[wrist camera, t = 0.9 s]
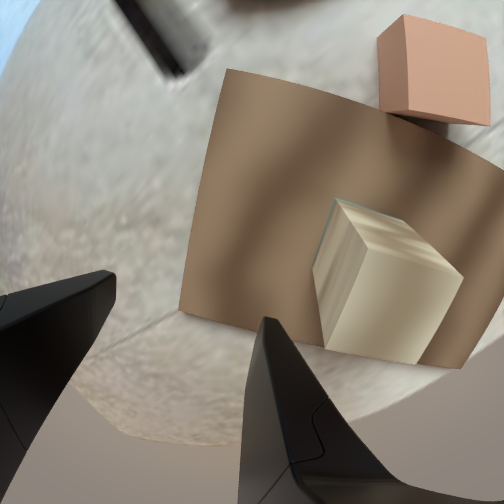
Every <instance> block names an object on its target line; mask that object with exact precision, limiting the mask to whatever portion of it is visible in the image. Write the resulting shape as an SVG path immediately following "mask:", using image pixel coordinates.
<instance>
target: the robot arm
mask: <svg viewBox="0 0 504 504" xmlns="http://www.w3.org/2000/svg"><path fill="white" fill-rule="evenodd" d="M115 300H116V275H115V273H113V272H110V271H107V270H100V271H96V272H92V273H88V274H84V275H80V276H76V277H72V278H68V279H64V280H60V281H56V282H52V283H48V284H44V285H41V286H37V287H33V288H29V289H25V290H21V291H18V292H14V293H10V294H8V296H7V295H2V296H0V503H1V501H2V499H3V497H4V495H5V493H6V491H7V489H8V487H9V485H10V483H11V481H12V479H13V477H14V475H15V473H16V471H17V470H18V468H19V466H20V464H21V462H22V460H23V458H24V456H25V454H26V451H27V450H28V449H29V447H30V445H31V443H32V441H33V440H34V438H35V436H36V435H37V433H38V431H39V429H40V427H41V426H42V424H43V422H44V421H45V419H46V417H47V416H48V414H49V412H50V410H51V409H52V407H53V405H54V404H55V402H56V401H57V399H58V397H59V396H60V394H61V393H62V391H63V389H64V388H65V386H66V385H67V383H68V382H69V380H70V378H71V377H72V375H73V374H74V372H75V371H76V369H77V368H78V366H79V365H80V363H81V361H82V360H83V358H84V357H85V355H86V354H87V352H88V351H89V349H90V348H91V346H92V345H93V343H94V341H95V340H96V338H97V336H98V334H99V332H100V330H101V328H102V326H103V324H104V323H105V321H106V319H107V317H108V315H109V313H110V311H111V309H112V308H113V306H114V303H115ZM239 474H240V475H239V489H238V504H504V500H503V501H494V502H492V501H477V500H471V499H465V498H460V497H456V496H451V495H446V494H442V493H437V492H433V491H429V490H425V489H421V488H418V487H414V486H410V485H408V484H406V483H403V482H401V481H400V480H398V479H397V478H396V477H394V476H393V475H392V474H391V473H390V472H389V471H388V470H387V469H386V468H385V467H384V466H383V465H382V464H381V462H380V461H379V460H378V459H377V458H376V457H375V455H374V454H373V453H372V452H371V451H370V450H369V449H368V447H367V446H366V445H365V444H364V443H363V442H362V441H361V439H360V438H359V437H358V436H357V435H356V433H355V432H354V431H353V430H352V428H351V427H350V426H349V425H348V423H347V422H346V421H345V419H344V418H343V417H342V415H341V414H340V412H339V411H338V410H337V408H336V407H335V405H334V404H333V402H332V401H331V399H330V398H329V396H328V395H327V393H326V392H325V390H324V389H323V387H322V386H321V384H320V383H319V381H318V380H317V378H316V377H315V375H314V374H313V372H312V371H311V369H310V368H309V366H308V364H307V363H306V361H305V360H304V358H303V357H302V355H301V354H300V352H299V351H298V349H297V348H296V346H295V345H294V343H293V342H292V340H291V338H290V337H289V335H288V334H287V332H286V331H285V329H284V328H283V326H282V325H281V323H280V322H279V320H278V319H276V318H272V317H267V316H264V317H263V318H262V321H261V324H260V327H259V330H258V333H257V337H256V340H255V344H254V348H253V353H252V358H251V363H250V368H249V372H248V377H247V382H246V388H245V397H244V412H243V427H242V443H241V458H240V473H239Z"/></svg>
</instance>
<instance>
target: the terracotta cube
mask: <svg viewBox="0 0 504 504" xmlns="http://www.w3.org/2000/svg"><path fill="white" fill-rule="evenodd" d="M377 46H378V65H379V110H380V111H383V112H385V113H388V114H393V115H400V116H408V117H414V118H421V119H427V120H433V121H438V122H444V123H450V124H467V125H481V126H490V78H489V64H488V54H487V45H486V38H484V37H481V36H478V35H476V34H473V33H470V32H467V31H464V30H461V29H458V28H455V27H451V26H448V25H445V24H441V23H438V22H434V21H430V20H426V19H422V18H418V17H414V16H410V15H405V14H403V15H402V16H401V17H399V18H398V19H397V20H396V21H395V22H394V23H393V24H392V25H390V26H389V27H388V28H387V29H386V30H385V31H384V32H383V33H382V34H380V35H379V36H378V37H377Z"/></svg>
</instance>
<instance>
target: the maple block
mask: <svg viewBox="0 0 504 504" xmlns="http://www.w3.org/2000/svg"><path fill="white" fill-rule="evenodd" d="M312 270H313V276H314V282H315V288H316V294H317V300H318V306H319V313H320V319H321V326H322V332H323V339H324V346H325V349H327V350H332V351H337V352H342V353H347V354H352V355H358V356H363V357H369V358H375V359H380V360H386V361H392V362H399V363H405V364H412V365H416V363H417V362H418V360H419V359H420V357H421V355H422V354H423V352H424V351H425V349H426V347H427V346H428V344H429V342H430V341H431V339H432V337H433V336H434V334H435V332H436V330H437V329H438V327H439V325H440V323H441V322H442V320H443V318H444V316H445V314H446V312H447V310H448V309H449V307H450V305H451V303H452V301H453V299H454V297H455V295H456V293H457V291H458V289H459V287H460V285H461V283H462V281H463V279H464V277H463V276H462V275H461V274H460V273H459V272H458V271H457V270H456V269H455V268H454V267H453V266H452V265H451V264H450V263H449V262H448V261H447V260H445V259H444V258H443V257H442V256H441V255H440V254H439V253H438V252H437V251H436V250H435V249H434V248H433V247H432V246H431V245H430V244H429V243H428V242H426V241H425V240H424V239H423V238H422V237H421V236H420V235H419V234H418V233H417V232H416V231H414V230H413V229H412V228H411V227H410V226H409V225H408V224H407V223H405V222H404V221H403V220H402V219H399V218H396V217H393V216H390V215H387V214H384V213H381V212H378V211H375V210H372V209H369V208H366V207H363V206H360V205H356V204H353V203H350V202H347V201H343V200H340V199H337V198H334V202H333V205H332V208H331V211H330V214H329V217H328V220H327V223H326V226H325V230H324V233H323V236H322V239H321V242H320V245H319V248H318V251H317V253H316V256H315V259H314V262H313V265H312Z"/></svg>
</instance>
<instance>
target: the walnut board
mask: <svg viewBox="0 0 504 504" xmlns="http://www.w3.org/2000/svg"><path fill="white" fill-rule="evenodd" d="M334 198H337V199H340V200H343V201H347V202H350V203H353V204H356V205H360V206H363V207H366V208H369V209H372V210H375V211H378V212H381V213H384V214H387V215H390V216H393V217H396V218H399V219H402V220H403V221H404V222H405V223H407V224H408V225H409V226H410V227H411V228H412V229H413V230H414V231H416V232H417V233H418V234H419V235H420V236H421V237H422V238H423V239H424V240H425V241H426V242H428V243H429V244H430V245H431V246H432V247H433V248H434V249H435V250H436V251H437V252H438V253H439V254H440V255H441V256H442V257H443V258H444V259H445V260H447V261H448V262H449V263H450V264H451V265H452V266H453V267H454V268H455V269H456V270H457V271H458V272H459V273H460V274H461V275H462V276H463V277H464V279H463V281H462V283H461V285H460V287H459V289H458V291H457V293H456V295H455V297H454V299H453V301H452V303H451V305H450V307H449V309H448V310H447V312H446V314H445V316H444V318H443V320H442V322H441V323H440V325H439V327H438V329H437V330H436V332H435V334H434V336H433V337H432V339H431V341H430V342H429V344H428V346H427V347H426V349H425V351H424V352H423V354H422V355H421V357H420V359H419V360H418V362H417V364H424V365H431V366H439V367H446V368H454V369H461V368H462V366H463V365H464V363H465V362H466V360H467V359H468V357H469V356H470V354H471V353H472V351H473V350H474V348H475V347H476V345H477V343H478V342H479V340H480V338H481V337H482V335H483V333H484V332H485V330H486V328H487V327H488V325H489V323H490V321H491V320H492V318H493V316H494V314H495V312H496V311H497V309H498V307H499V305H500V303H501V301H502V299H503V297H504V170H502V169H501V168H499V167H497V166H495V165H494V164H492V163H490V162H489V161H487V160H485V159H483V158H482V157H480V156H478V155H476V154H474V153H472V152H471V151H469V150H467V149H465V148H463V147H461V146H459V145H457V144H455V143H453V142H451V141H449V140H447V139H445V138H443V137H441V136H439V135H437V134H435V133H432V132H430V131H428V130H426V129H424V128H421V127H419V126H417V125H415V124H412V123H410V122H408V121H405V120H403V119H400V118H398V117H396V116H393V115H391V114H388V113H385V112H383V111H380V110H378V109H375V108H372V107H370V106H367V105H364V104H361V103H358V102H355V101H352V100H349V99H346V98H343V97H340V96H337V95H334V94H331V93H328V92H324V91H321V90H318V89H314V88H311V87H307V86H303V85H300V84H296V83H292V82H288V81H284V80H280V79H276V78H272V77H267V76H263V75H258V74H253V73H248V72H243V71H238V70H233V69H227V70H226V73H225V77H224V81H223V85H222V89H221V93H220V97H219V101H218V105H217V109H216V113H215V118H214V122H213V126H212V130H211V135H210V139H209V144H208V148H207V153H206V157H205V162H204V167H203V172H202V176H201V181H200V186H199V191H198V196H197V201H196V207H195V212H194V217H193V223H192V228H191V234H190V239H189V245H188V251H187V257H186V263H185V269H184V275H183V282H182V288H181V295H180V301H179V308H178V310H179V311H182V312H186V313H189V314H193V315H196V316H200V317H203V318H207V319H210V320H214V321H218V322H221V323H225V324H229V325H233V326H237V327H240V328H244V329H248V330H252V331H256V332H258V330H259V327H260V324H261V321H262V318H263V317H264V316H267V317H272V318H276V319H278V320H279V322H280V323H281V325H282V326H283V328H284V329H285V331H286V332H287V334H288V335H289V337H290V338H291V340H294V341H299V342H303V343H308V344H313V345H317V346H322V347H325V346H324V339H323V332H322V326H321V319H320V313H319V306H318V300H317V294H316V288H315V282H314V276H313V270H312V265H313V262H314V259H315V256H316V253H317V251H318V248H319V245H320V242H321V239H322V236H323V233H324V230H325V226H326V223H327V220H328V217H329V214H330V211H331V208H332V205H333V202H334Z"/></svg>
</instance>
